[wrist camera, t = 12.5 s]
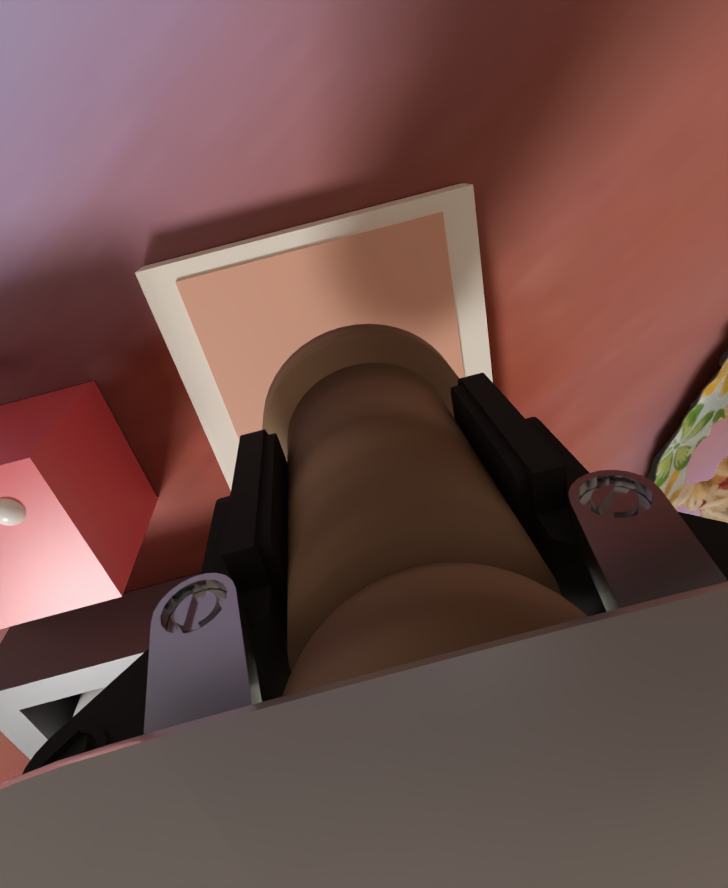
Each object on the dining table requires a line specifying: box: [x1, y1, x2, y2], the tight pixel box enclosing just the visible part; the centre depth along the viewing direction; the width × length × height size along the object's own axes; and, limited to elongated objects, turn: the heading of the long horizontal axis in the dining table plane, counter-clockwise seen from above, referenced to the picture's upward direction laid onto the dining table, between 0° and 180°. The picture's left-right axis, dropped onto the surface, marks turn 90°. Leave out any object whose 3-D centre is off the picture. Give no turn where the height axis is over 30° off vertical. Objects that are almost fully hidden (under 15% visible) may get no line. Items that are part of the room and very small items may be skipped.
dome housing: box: [0, 573, 201, 760], centre depth 22 cm, size 10×10×4 cm
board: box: [135, 183, 493, 490], centre depth 22 cm, size 10×26×1 cm, turn 13°
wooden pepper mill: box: [262, 324, 588, 697], centre depth 9 cm, size 5×5×11 cm
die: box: [0, 381, 158, 629], centre depth 16 cm, size 5×5×5 cm
